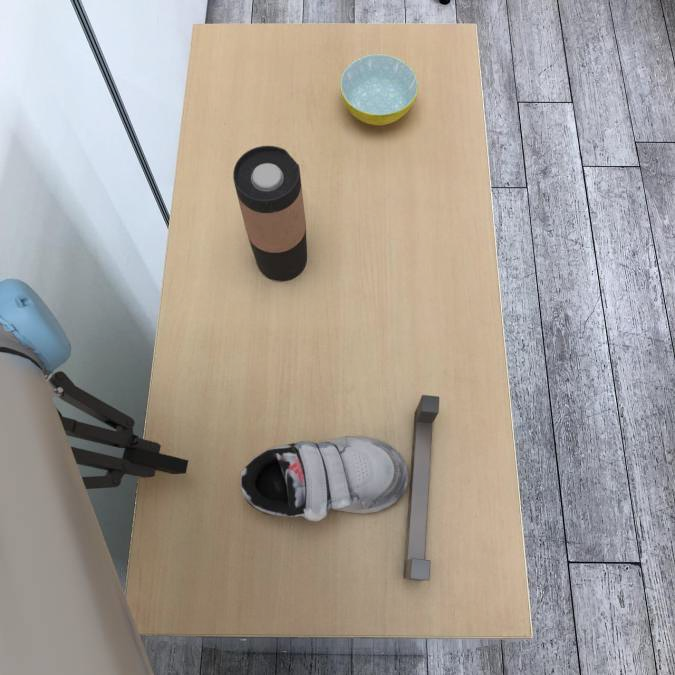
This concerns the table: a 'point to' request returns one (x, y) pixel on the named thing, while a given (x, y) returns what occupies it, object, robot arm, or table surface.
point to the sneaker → (325, 478)
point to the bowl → (378, 88)
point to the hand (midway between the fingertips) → (180, 467)
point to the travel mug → (273, 210)
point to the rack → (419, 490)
